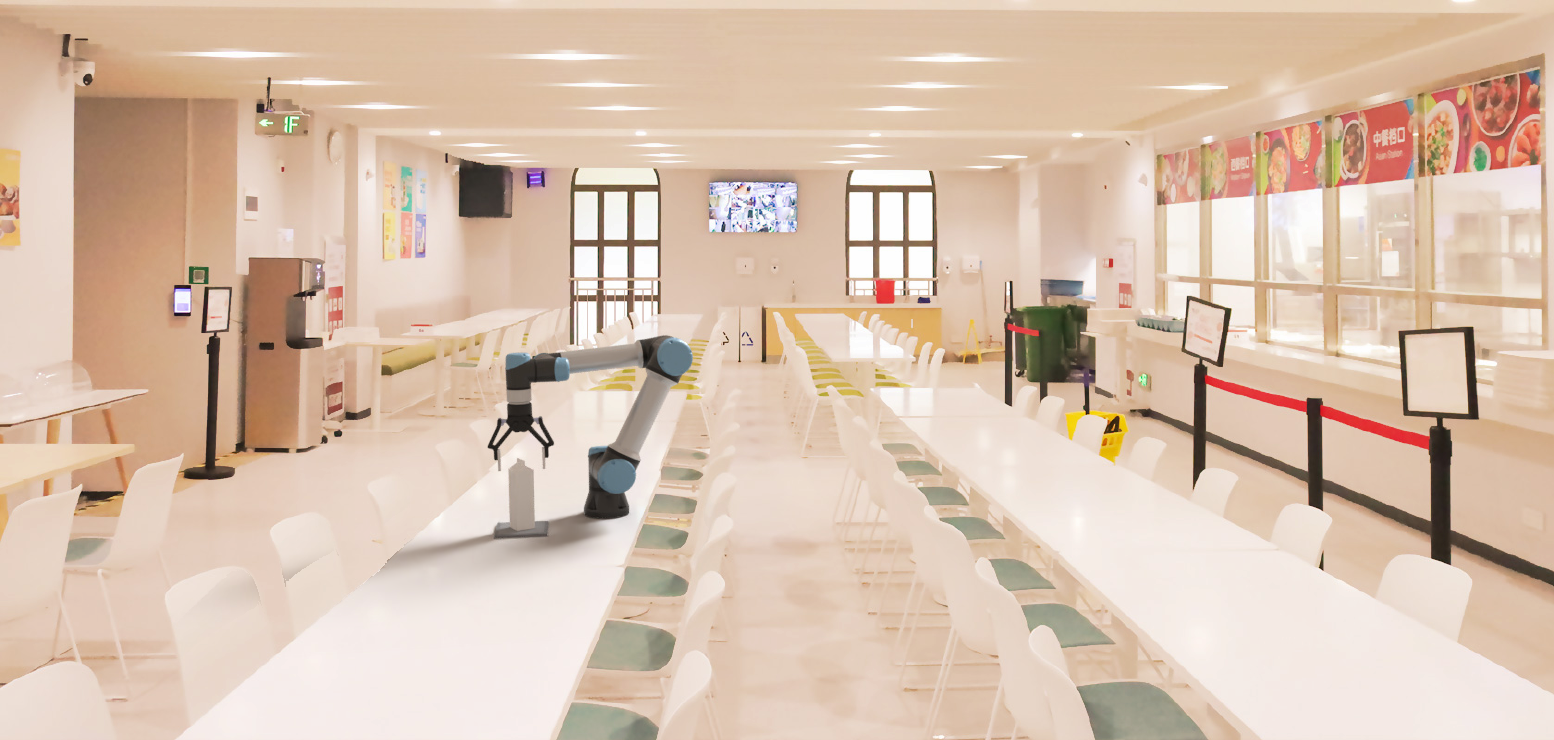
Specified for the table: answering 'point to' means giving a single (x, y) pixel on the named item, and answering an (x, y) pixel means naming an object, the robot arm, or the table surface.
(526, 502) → the milk
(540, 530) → the mat
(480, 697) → the table surface
